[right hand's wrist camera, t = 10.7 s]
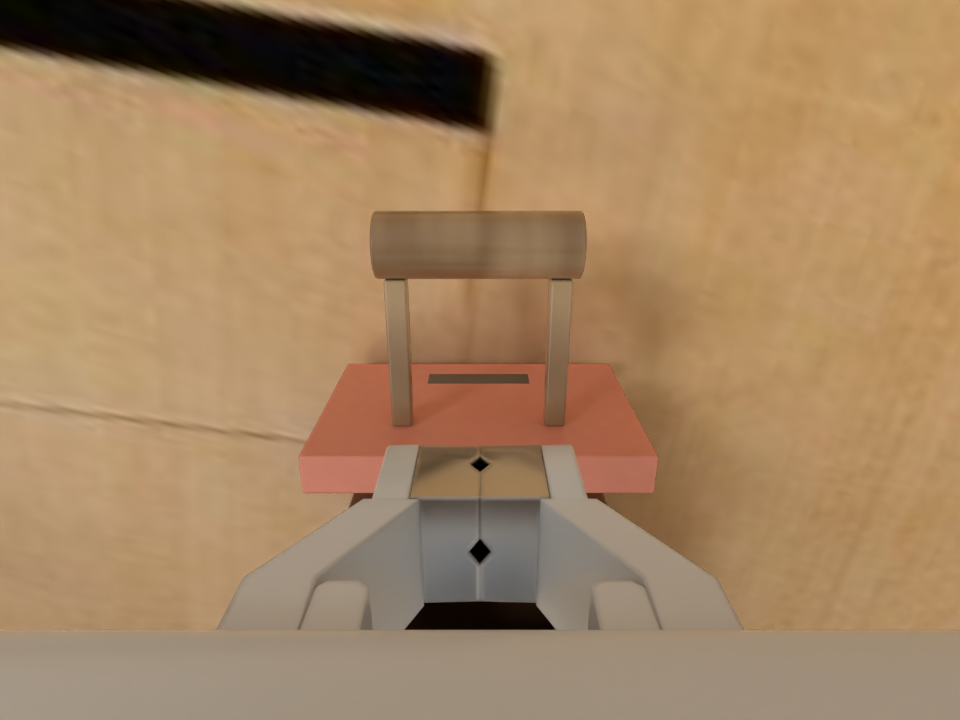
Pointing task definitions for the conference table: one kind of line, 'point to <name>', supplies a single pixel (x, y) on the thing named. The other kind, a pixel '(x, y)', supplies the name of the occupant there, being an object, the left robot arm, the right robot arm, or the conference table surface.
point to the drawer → (478, 380)
